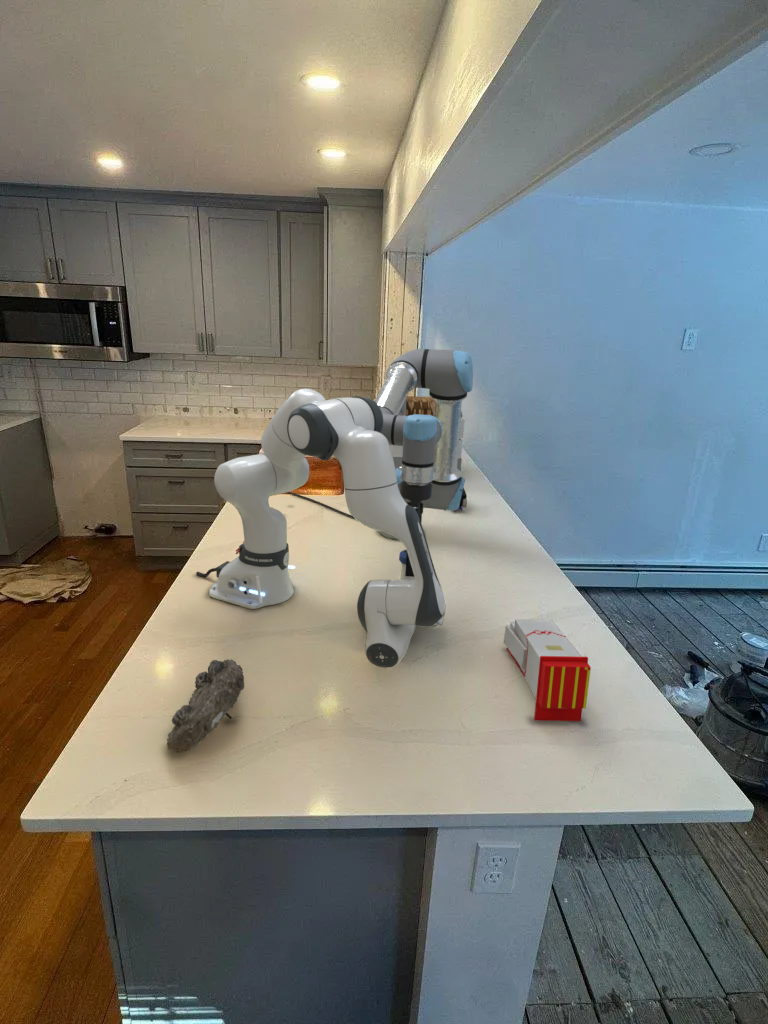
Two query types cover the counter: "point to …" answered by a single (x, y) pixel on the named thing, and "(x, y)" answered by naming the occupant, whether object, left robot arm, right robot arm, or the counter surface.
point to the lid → (402, 557)
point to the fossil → (206, 705)
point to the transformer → (422, 408)
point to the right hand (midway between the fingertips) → (410, 568)
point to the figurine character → (463, 500)
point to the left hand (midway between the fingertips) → (409, 592)
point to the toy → (549, 668)
